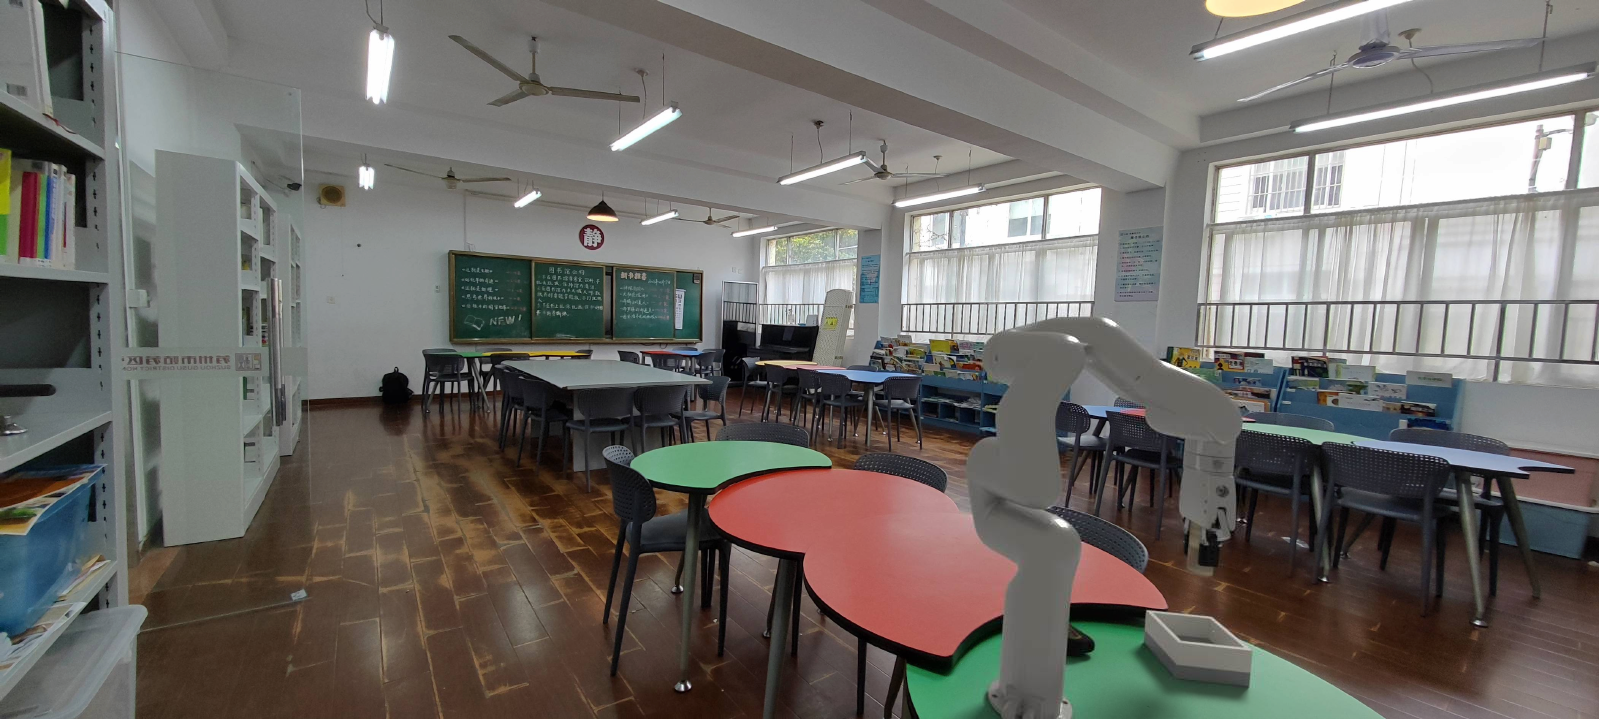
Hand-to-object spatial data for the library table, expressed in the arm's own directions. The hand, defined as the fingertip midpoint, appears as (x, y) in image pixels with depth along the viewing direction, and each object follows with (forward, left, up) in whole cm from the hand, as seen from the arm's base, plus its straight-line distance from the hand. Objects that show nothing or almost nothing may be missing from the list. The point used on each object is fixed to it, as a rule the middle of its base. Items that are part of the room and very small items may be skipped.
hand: (1200, 559), depth 105 cm
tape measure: (-9, +19, -20) cm, 29 cm away
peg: (0, 0, -2) cm, 2 cm away
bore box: (0, 0, -20) cm, 20 cm away
